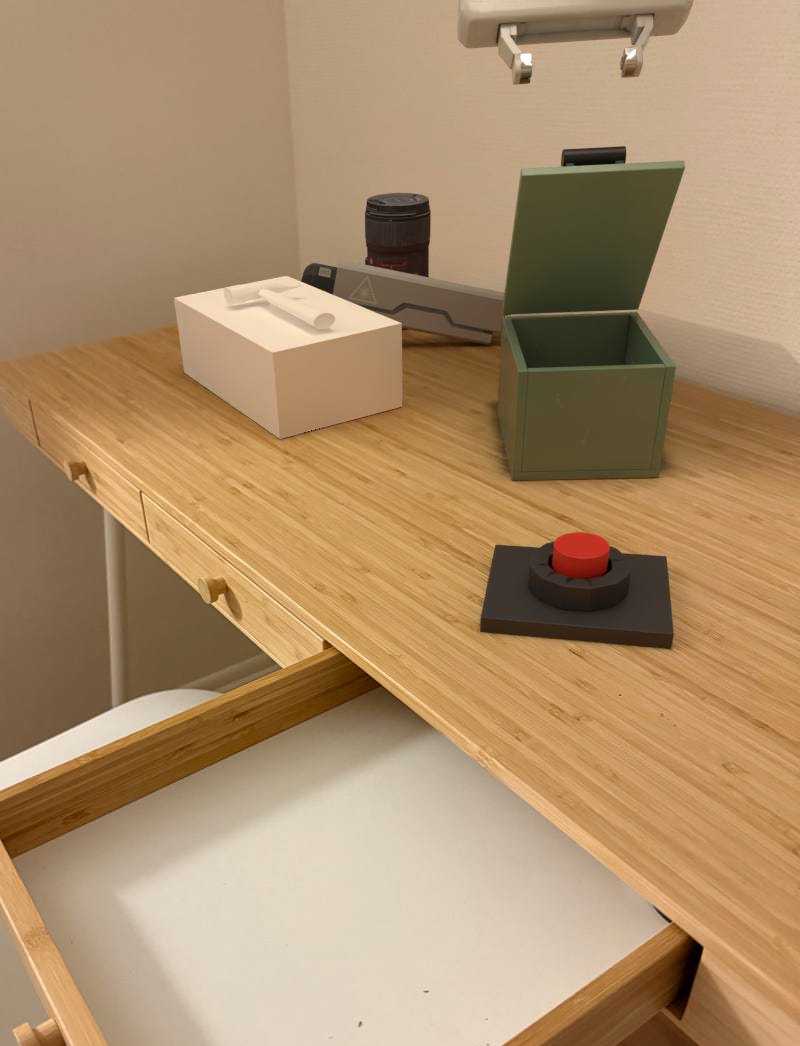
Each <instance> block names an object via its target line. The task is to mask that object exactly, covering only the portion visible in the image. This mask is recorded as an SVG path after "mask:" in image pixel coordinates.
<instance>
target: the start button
mask: <svg viewBox="0 0 800 1046" xmlns="http://www.w3.org/2000/svg"><path fill="white" fill-rule="evenodd" d="M553 542H554V549H553V559H552V567H553V570H554V571H555V572H556V573H559V574H562V575H564V576H567V577H570V578H579V579H590V578H595V577H600V576H603V575H604V574H605V573H606V571H607V567H608V559H609V552H610V546H611V545H610V543H609V541H608V540H606V539H605V538H604V537H602V536H600V535H598V534H594V533H590V532H581V531H580V532H579V531H578V532H577V531H576V532H575V531H574V532H568V533H564V534H562V535H560V536H558V537H557V538H556V539H555V541H553Z"/></svg>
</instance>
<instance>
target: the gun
mask: <svg viewBox="0 0 800 1046" xmlns="http://www.w3.org/2000/svg"><path fill="white" fill-rule="evenodd" d="M300 282H303V283H305V284H308V285H310V286H313V287H315V288H317V289H320V290H322V291H325V292H327V293H330V294H332V295H334V296H337V297H339V298H342V299H344V300H346V301H349V302H351V303H354V304H356V305H359V306H361V307H363V308H366V309H368V310H371V311H373V312H376V313H378V314H380V315H383V316H385V317H388V318H390V319H393V320H395V321H397V322H400V323H402V328H405V329H406V330H411V331H415V332H421V333H426V334H430V335H435V336H440V337H446V338H451V339H456V340H459V341H466V342H471V343H475V344H480V345H486V346H490V345H491V344H492V342H493V338H494V332H496V333H501V331H502V317H508V316H511V315H512V314H507V315H503V311H502V307H503V300H504V293H505V292H502V291H497V290H493V289H488V288H483V287H478V286H472V285H468V284H463V283H458V282H452V281H447V280H444V279H443V280H442V279H439V278H434V277H430V276H429V277H424V276H419V275H414V274H409V273H404V272H399V271H394V270H389V269H384V268H379V267H374V266H369V265H365V263H360V262H359V263H358V262H353V261H349V260H343V259H339V260H338V263H337V266H332V265H328V264H322V263H317V262H313V263H310V264H308V265H306V267H305V268H304V270H303V272H302V276H301V279H300ZM405 329H404V330H405Z"/></svg>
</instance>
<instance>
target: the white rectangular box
mask: <svg viewBox="0 0 800 1046" xmlns="http://www.w3.org/2000/svg"><path fill="white" fill-rule="evenodd" d="M173 301H174V310H175V316H176V323H177V331H178V338H179V346H180V351H181V352H180V353H181V359H182V368H183V373H184V374H185V375H187V376H188V377H190V378H191V379H193V380H194V381H195V382H197V383H199V384H200V385H201V386H203V387H205V389H207V390H209V391H210V393H211V392H212V394H215V396H217V397H219V399H222V400H223V401H225V402H226V403H227V404H229V405H230V406H232V407H233V408H235V409H236V410H237V411H238V412H240V413H242V414H243V415H245V416H246V417H248V418H249V419H250V420H251V421H253V422H254V423H256V424H257V425H259V426H260V427H262V428H264V429H265V430H266V431H267V432H269V433H270V434H272V435H273V436H274V437H276V438H277V439H279V440H282V439H286V438H290V437H294V436H297V435H300V434H305V433H309V432H312V431H315V429H316V430H320V429H324V428H328V427H331V426H334V425H338V424H342V423H346V422H349V421H353V420H354V421H355V420H357V419H361V418H364V417H368V416H372V415H376V414H380V413H383V412H388V411H391V410H394V409H398V408H402V407H403V329H402V323H400V322H397V321H395V320H393V319H390V318H388V317H385V316H383V315H380V314H378V313H376V312H373V311H371V310H368V309H366V308H363V307H361V306H359V305H356V304H354V303H351V302H349V301H346V300H344V299H342V298H339V297H337V296H334V295H332V294H330V293H327V292H325V291H322V290H320V289H317V288H315V287H313V286H310V285H308V284H305V283H303V282H301V280H299V279H295V278H293V277H290V276H288V275H283V276H279V277H273V278H268V279H263V280H258V281H252V282H247V283H241V284H236V285H231V286H226V287H221V288H216V289H212V290H207V291H202V292H196V293H192V294H185V295H181V296H177V297H176V296H175V297H173ZM323 427H324V428H323ZM319 428H320V429H319ZM311 430H312V431H311ZM308 431H309V432H308ZM304 432H305V433H304Z"/></svg>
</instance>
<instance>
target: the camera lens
mask: <svg viewBox="0 0 800 1046" xmlns="http://www.w3.org/2000/svg"><path fill="white" fill-rule="evenodd" d="M431 215H432V210H431V206H430V199H429V197H428V196H426V195H424V194H420V193H413V192H391V193H390V192H387V193H380V194H376V195H371V196H370V197H368V198H367V199H366V205H365V211H364V238H365V247H366V257H365V259H364V265H369V266H374V267H379V268H384V269H389V270H394V271H399V272H404V273H409V274H414V275H419V276H424V277H429V278H430V274H429V273H430V271H429V270H430V267H429V266H430V265H429V262H430V259H429V257H430V243H431V227H432V226H431V222H432V221H431V220H432V219H431ZM402 330H405V328H402Z"/></svg>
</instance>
